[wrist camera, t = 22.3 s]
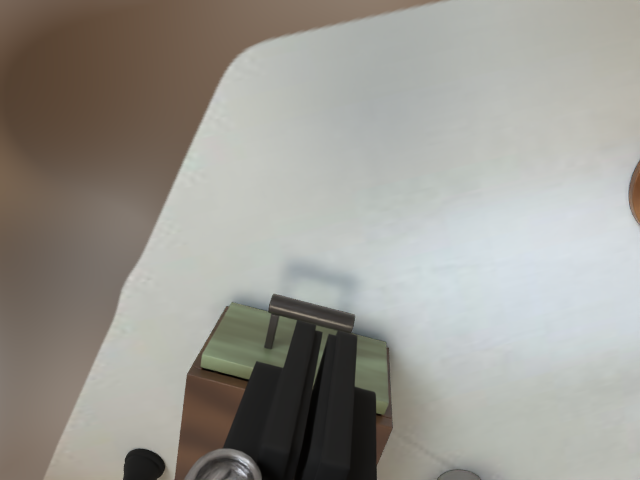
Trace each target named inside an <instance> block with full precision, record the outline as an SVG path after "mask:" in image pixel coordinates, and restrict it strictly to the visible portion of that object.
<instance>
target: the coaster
mask: <svg viewBox="0 0 640 480" xmlns="http://www.w3.org/2000/svg"><path fill="white" fill-rule="evenodd" d="M629 202H630V208H631V211H632V213H633V216H634V217H635V219H636V221H637V222H638V223H639V224H640V161H639V163H638V165H637V166H636V168H635V171H634V173H633V175H632V179H631V182H630V188H629Z"/></svg>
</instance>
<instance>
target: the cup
mask: <svg viewBox="0 0 640 480" xmlns="http://www.w3.org/2000/svg"><path fill="white" fill-rule="evenodd" d="M437 480H481V479H480V478H479V477H478V476H477V475H475V474H474V473H472V472H469V471H465V470H452V471H448V472H446V473H444V474H442V475H441V476H440V477H439V478H438V479H437Z"/></svg>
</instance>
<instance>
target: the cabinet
mask: <svg viewBox="0 0 640 480" xmlns="http://www.w3.org/2000/svg"><path fill="white" fill-rule="evenodd" d="M228 308H229V307H228V306H226V308H225V310H224V312H223V313H222V315H221V317H220V318H219V320H218V322H217V324H216V325H215V327H214V329H213V330H212V332H211V334H210V336H209V337H208V339H207V341H206V342H205V344H204V346H203V348H202V349H201V351H200V353H199V354H198V356H197V358H196V360H195V361H194V363H193V365H192V367H191V368H190V370H189V372H188V373H187V379H186V387H185V396H184V404H183V413H182V422H181V430H180V439H179V447H178V456H177V464H176V473H175V480H184V479H185V477H186V475H187V474H188V472H189V471H190V469H191V467H192V466H193V465H194V464H195V463H196V462H197V460H198V459H199V458H201V457H202V456H204V455H205V454H207V453H208V452H211V451H214V450H218V449H223V446H224V444H225V441H226V438H227V436H228V433H229V430H230V428H231V425H232V423H233V420H234V417H235V415H236V412H237V410H238V407H239V404H240V402H241V399H242V396H243V394H244V391H245V389H246V386H247V383H248V381H244V380H240V379H236V378H233V377H229V376H225V375H221V374H217V373H214V370H210V369H206V368H202V367H201V359H202V354H203V352H204V350H205V348H206V347H207V345H208V343H209V341H210V340H211V338H212V336H213V334H214V333H215V331H216V329H217V327H218V326H219V324H220V322H221V320H222V319H223V317H224V315H225V313H226V312H227V310H228ZM386 349H387V373H388V396H389V404H388V407H387V409H386V412H385V414H384V415H382V414H378V413H376V452H377V464H378V462H379V459H380V457H381V455H382V452H383V450H384V447H385V445H386V443H387V440H388V438H389V436H390V433H391V431H392V428H393V424H392V405H391V385H390V365H389V348H386Z"/></svg>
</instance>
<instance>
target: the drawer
mask: <svg viewBox="0 0 640 480" xmlns="http://www.w3.org/2000/svg"><path fill="white" fill-rule="evenodd" d="M297 320H300V321H304V322H308V323H312V324H315V325H316V330H317V331H321V332H323V334H322V340H321V345H320V350H319V356H318V361H317V367H316V372H315V378H314V382H315V379H316V375H317V372H318V368H319V365H320V362H321V358H322V355H323V351H324V348H325V344H326V341H327V337H328V334H332V335H336V333H337V331H338V330H339V331H342V332H346V333H350V334H353V333H351V332H352V329H353V326H354V321H355V315H354V314H350V313H346V312H343V311H339V310H335V309H331V308H327V307H323V306H319V305H316V304H312V303H308V302H304V301H300V300H296V299H292V298H288V297H285V296H281V295H277V294H273V295H272V298H271V301H270V305H269V310H268V311H264V310H260V309H256V308H252V307H249V306H245V305H241V304H237V303H233V302H232V303H231V305H230V306H229V308H228V310H227V312H226V313H225V315H224V317H223V319H222V320H221V322H220V324H219V326H218V327H217V329H216V331H215V333H214V334H213V336H212V338H211V340H210V341H209V343H208V345H207V347H206V348H205V350H204V352H203V354H202V359H201V367H202V368H206V369H210V370H214V373H217V374H221V375H225V376H229V377H233V378H236V379H240V380H244V381H249V378H250V376H251V373H252V370H253V368H254V365H255V363H256V361H259V362H262V363H266V364H270V365H274V366H278V367H282V368H283V367H284V364H285V360H286V357H287V354H288V350H289V347H290V343H291V340H292V336H293V333H294V329H295V326H296V322H297ZM354 335H357V334H354ZM313 386H314V383H313ZM355 387H358V388H362V389H366V390H370V391H374V392H375V394H376V413H378V414H382V415H384V414H385V412H386V409H387V407H388V404H389V396H388V373H387V349H386V342H384V341H380V340H376V339H372V338H368V337H364V336H360V335H357V355H356V373H355Z"/></svg>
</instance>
